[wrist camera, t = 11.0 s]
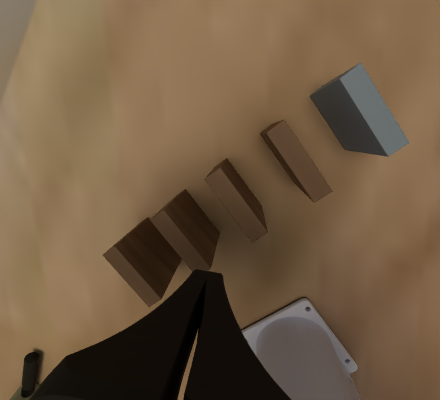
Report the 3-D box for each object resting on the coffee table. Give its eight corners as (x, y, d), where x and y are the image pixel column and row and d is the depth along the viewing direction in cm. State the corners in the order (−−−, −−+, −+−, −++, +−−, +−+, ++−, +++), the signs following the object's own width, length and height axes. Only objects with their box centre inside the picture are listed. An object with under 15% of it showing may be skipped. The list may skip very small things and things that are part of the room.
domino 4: (272, 123, 19) (284, 119, 13) (307, 174, 20) (332, 191, 14) (259, 133, 19) (266, 132, 14) (294, 183, 20) (314, 202, 14)
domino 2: (185, 189, 21) (163, 209, 15) (219, 232, 22) (210, 268, 16) (175, 196, 22) (149, 219, 16) (209, 239, 22) (197, 276, 17)
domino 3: (226, 158, 20) (219, 167, 14) (261, 205, 21) (267, 232, 15) (215, 166, 20) (204, 179, 15) (249, 213, 21) (252, 242, 15)
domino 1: (148, 217, 22) (114, 246, 17) (182, 258, 23) (161, 299, 17) (138, 224, 23) (102, 255, 17) (172, 264, 23) (149, 307, 18)
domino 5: (323, 85, 18) (360, 62, 12) (358, 140, 19) (409, 142, 13) (309, 96, 18) (339, 78, 13) (344, 149, 19) (388, 156, 13)
